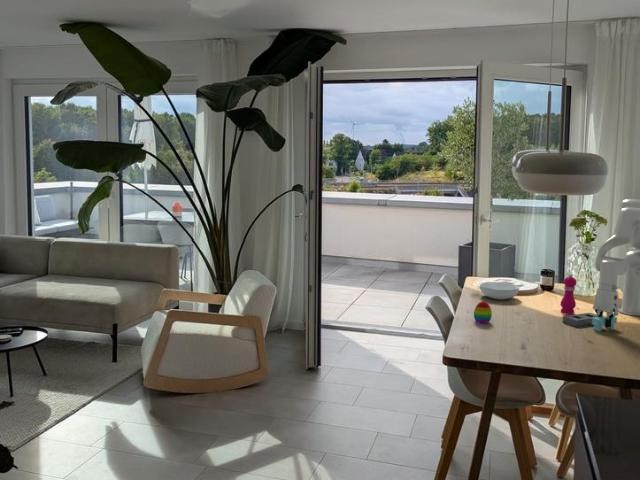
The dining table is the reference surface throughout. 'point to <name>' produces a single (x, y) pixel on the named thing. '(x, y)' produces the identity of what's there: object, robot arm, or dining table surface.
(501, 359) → the dining table surface
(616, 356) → the dining table surface
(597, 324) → the clip
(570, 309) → the pepper mill
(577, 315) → the rail
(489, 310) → the decorative egg
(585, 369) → the dining table surface
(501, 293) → the serving bowl
